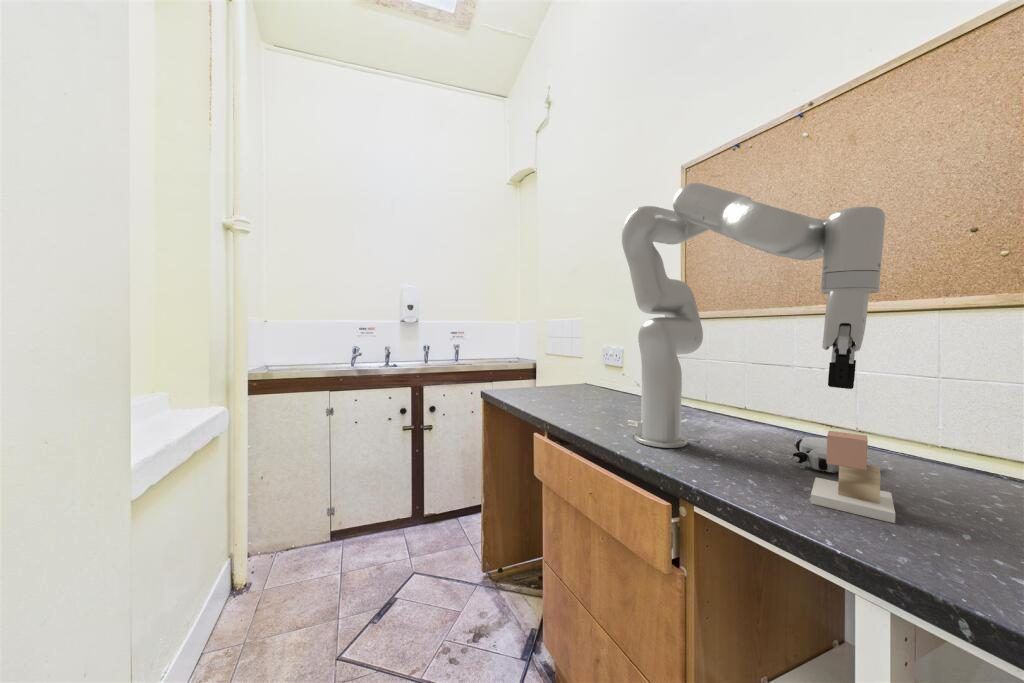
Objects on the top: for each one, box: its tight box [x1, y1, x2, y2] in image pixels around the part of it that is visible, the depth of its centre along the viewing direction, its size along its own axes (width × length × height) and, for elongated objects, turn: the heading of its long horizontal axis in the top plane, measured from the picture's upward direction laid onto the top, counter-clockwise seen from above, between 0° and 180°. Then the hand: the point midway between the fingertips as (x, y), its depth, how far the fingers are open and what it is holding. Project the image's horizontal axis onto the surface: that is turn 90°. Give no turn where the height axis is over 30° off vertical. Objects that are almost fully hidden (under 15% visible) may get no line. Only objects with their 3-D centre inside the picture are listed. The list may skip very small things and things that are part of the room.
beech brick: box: [837, 464, 881, 504], centre depth 64 cm, size 5×4×5 cm
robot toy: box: [788, 435, 839, 474], centre depth 83 cm, size 12×4×15 cm
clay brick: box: [826, 430, 869, 471], centre depth 65 cm, size 5×4×5 cm
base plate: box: [810, 477, 896, 524], centre depth 65 cm, size 10×10×2 cm
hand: (841, 384), depth 67 cm, fingers open, 9 cm apart
